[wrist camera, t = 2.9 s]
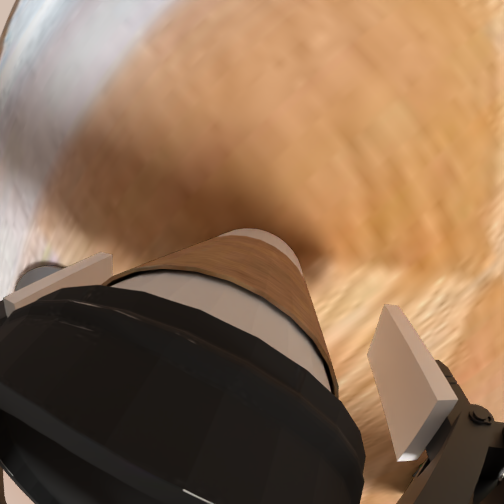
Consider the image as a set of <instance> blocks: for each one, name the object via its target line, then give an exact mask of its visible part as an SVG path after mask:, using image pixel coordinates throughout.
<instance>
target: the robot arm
mask: <svg viewBox="0 0 504 504" xmlns="http://www.w3.org/2000/svg"><path fill="white" fill-rule="evenodd" d="M112 276H113V263H112V254H108V253H103V252H100V253H97V254H95V255H93V256H90V257H88V258H86V259H84V260H81V261H79V262H77V263H75V264H73V265H70V266H68V267H66V268H64V269H62V270H59V271H57V272H55V273H53V274H51V275H49V276H46V277H44V278H42V279H40V280H38V281H36V282H34V283H32V284H30V285H28V286H26V287H24V288H22V289H20V290H17V291H15V292H13V293H11V294H9V295H8V296H6V297H4V298H3V300H2V301H0V327H1V326H2V325H3V323H4V322H5V321H6V319H7V318H8V317H9V316H10V314H11V313H12V312H13V311H14V310H16V309H18V308H21V307H23V306H25V305H28V304H30V303H32V302H34V301H37V300H38V299H39V298H41V297H43V296H45V295H47V294H50V293H52V292H54V291H56V290H59V289H61V288H66V287H77V286H89V285H101V284H102V283H104V282H105V281H106V280H108V279H109V278H110V277H112ZM367 357H368V360H369V363H370V366H371V369H372V372H373V375H374V379H375V382H376V385H377V389H378V392H379V395H380V399H381V402H382V406H383V409H384V413H385V416H386V420H387V424H388V427H389V431H390V435H391V439H392V443H393V447H394V451H395V455H396V459H397V461H412V460H417V459H418V458H419V457H420V455H421V454H422V453H423V451H424V450H425V449H426V451H427V454H428V458H427V459H426V461H425V462H424V463H423V464H422V466H421V467H420V468H419V469H418V470H417V471H416V473H415V474H414V475H413V477H414V479H413V481H412V482H411V484H410V485H409V487H408V488H407V489H406V491H405V492H404V494H403V495H402V497H401V498H400V499H399V501H398V502H397V503H396V504H504V476H503V473H504V423H501V422H495V421H494V418H493V416H492V414H491V413H490V412H489V411H488V410H487V409H485V408H483V407H482V406H479V405H476V404H470V403H469V401H468V399H467V398H466V396H465V394H464V393H463V391H462V389H461V388H460V386H459V385H458V384H457V381H456V380H455V378H454V377H453V375H452V374H451V372H450V370H449V369H448V367H446V366H445V365H444V364H443V363H442V362H441V361H439V360H434V358H433V357H432V355H431V353H430V352H429V350H428V349H427V347H426V346H425V344H424V343H423V341H422V339H421V338H420V336H419V335H418V333H417V332H416V330H415V329H414V327H413V326H412V324H411V323H410V321H409V320H408V319H407V317H406V316H405V314H404V313H403V311H402V310H401V308H400V307H399V306H396V305H389V304H384V306H383V309H382V312H381V315H380V318H379V322H378V325H377V328H376V331H375V334H374V337H373V339H372V342H371V345H370V348H369V351H368V353H367ZM0 504H7V503H6V501H5V496H4V484H3V468H2V467H1V466H0Z"/></svg>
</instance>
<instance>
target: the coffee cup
mask: <svg viewBox="0 0 504 504" xmlns="http://www.w3.org/2000/svg"><path fill="white" fill-rule="evenodd" d="M365 457H366V456H365V451H364V446H363V442H362V438H361V433H360V430H359V429H358V427H357V426H356V424H355V422H354V421H353V419H352V418H351V416H350V415H349V413H348V411H347V410H346V408H345V407H344V405H343V404H342V402H341V401H340V400H339V399H338V383H337V380H336V376H335V373H334V369H333V366H332V362H331V359H330V356H329V353H328V350H327V346H326V343H325V340H324V337H323V334H322V331H321V328H320V325H319V321H318V318H317V315H316V312H315V309H314V306H313V303H312V300H311V297H310V294H309V291H308V288H307V285H306V282H305V279H304V276H303V272H302V269H301V266H300V263H299V260H298V259H297V257H296V255H295V254H294V252H293V250H292V249H291V248H290V247H289V246H288V245H287V244H286V243H285V242H284V241H283V240H281V239H280V238H279V237H277V236H275V235H273V234H271V233H269V232H267V231H263V230H259V229H251V228H244V229H237V230H233V231H230V232H227V233H224V234H222V235H220V236H217V237H215V238H212V239H210V240H207V241H204V242H201V243H199V244H196V245H193V246H191V247H188V248H185V249H182V250H180V251H177V252H174V253H172V254H169V255H166V256H164V257H161V258H159V259H156V260H153V261H151V262H148V263H145V264H143V265H140V266H138V267H135V268H133V269H130V270H127V271H125V272H122V273H120V274H117V275H115V276H112V277H110V278H109V279H108V280H106V281H105V282H104V283H102V284H101V285H89V286H77V287H66V288H61V289H59V290H56V291H54V292H52V293H50V294H47V295H45V296H43V297H41V298H39V299H38V300H37V301H34V302H32V303H30V304H28V305H25V306H23V307H21V308H18V309H16V310H14V311H13V312H12V313H11V314H10V316H9V317H8V318H7V319H6V321H5V322H4V323H3V325H2V326H1V327H0V466H1V467H2V468H3V469H4V471H5V472H6V473H7V474H8V475H9V476H10V478H11V479H12V480H13V481H14V482H15V483H16V484H17V486H18V487H19V488H20V489H21V490H22V491H23V492H24V493H25V494H26V495H27V496H28V497H29V498H30V499H31V500H32V501H33V502H34V503H35V504H360V500H361V495H362V490H363V486H364V479H363V469H364V463H365Z"/></svg>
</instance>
